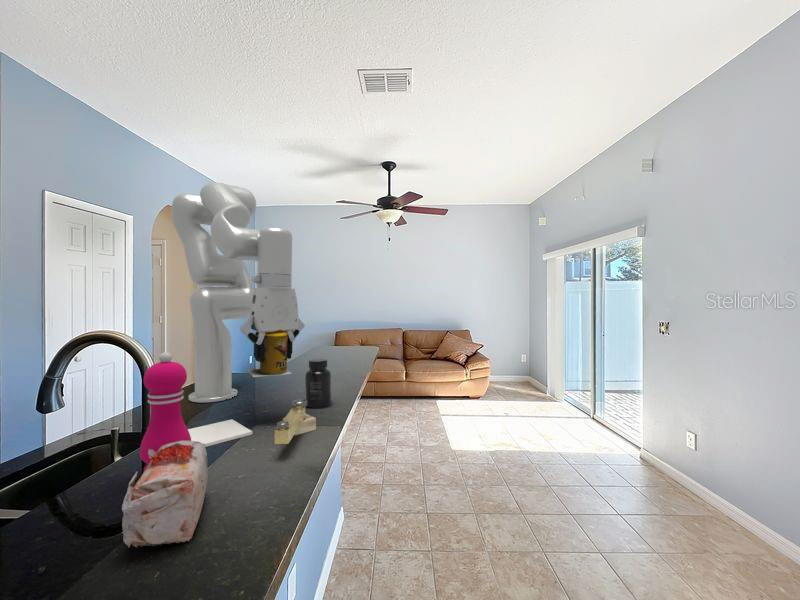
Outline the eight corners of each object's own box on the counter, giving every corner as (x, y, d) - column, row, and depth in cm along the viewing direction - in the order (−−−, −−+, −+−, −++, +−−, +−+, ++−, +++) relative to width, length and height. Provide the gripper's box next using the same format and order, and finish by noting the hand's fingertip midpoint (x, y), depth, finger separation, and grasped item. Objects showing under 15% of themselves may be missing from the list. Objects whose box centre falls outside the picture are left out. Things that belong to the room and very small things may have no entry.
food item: (199, 547, 44) (198, 463, 44) (116, 565, 41) (115, 475, 41) (210, 490, 57) (210, 425, 57) (148, 501, 54) (147, 432, 54)
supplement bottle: (336, 403, 102) (336, 359, 102) (318, 410, 96) (318, 363, 96) (318, 400, 105) (318, 357, 105) (299, 406, 100) (299, 360, 99)
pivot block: (283, 429, 82) (283, 418, 82) (304, 423, 86) (303, 412, 86) (295, 435, 79) (295, 423, 79) (316, 429, 82) (315, 418, 82)
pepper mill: (201, 468, 64) (200, 350, 64) (162, 488, 57) (161, 356, 57) (170, 461, 66) (169, 348, 66) (128, 481, 60) (127, 354, 59)
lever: (272, 444, 67) (272, 425, 67) (293, 414, 84) (293, 399, 84) (290, 443, 67) (290, 424, 67) (308, 414, 84) (308, 398, 84)
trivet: (178, 434, 80) (178, 431, 80) (232, 421, 87) (232, 419, 87) (195, 449, 72) (195, 446, 72) (252, 434, 79) (252, 431, 79)
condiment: (292, 374, 87) (293, 322, 87) (253, 378, 83) (254, 323, 82) (283, 367, 93) (284, 319, 93) (247, 371, 89) (247, 320, 88)
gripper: (244, 281, 79) (243, 367, 80) (315, 283, 91) (314, 357, 92) (230, 281, 84) (229, 361, 85) (299, 283, 96) (298, 353, 97)
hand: (273, 358), depth 88 cm, fingers closed on condiment, 6 cm apart
